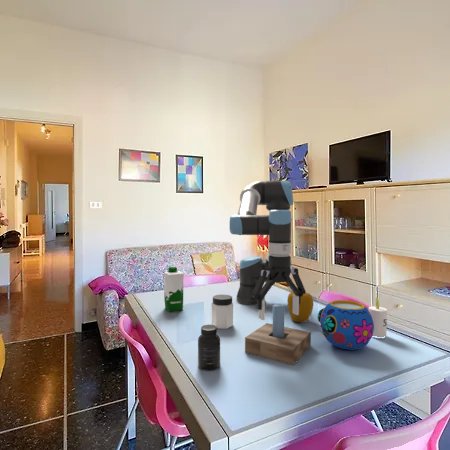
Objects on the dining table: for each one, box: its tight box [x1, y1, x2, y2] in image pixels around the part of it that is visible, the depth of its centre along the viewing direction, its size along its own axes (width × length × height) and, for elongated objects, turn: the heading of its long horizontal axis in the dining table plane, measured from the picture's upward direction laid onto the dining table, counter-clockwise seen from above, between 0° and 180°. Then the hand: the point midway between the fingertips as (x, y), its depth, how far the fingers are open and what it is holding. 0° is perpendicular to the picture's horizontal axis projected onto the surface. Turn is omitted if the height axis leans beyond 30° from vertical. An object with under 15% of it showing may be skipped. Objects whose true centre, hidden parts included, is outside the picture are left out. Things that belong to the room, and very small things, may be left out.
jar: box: [211, 294, 234, 330], centre depth 133 cm, size 9×8×12 cm
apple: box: [287, 291, 314, 323], centre depth 140 cm, size 11×11×13 cm
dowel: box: [272, 303, 285, 339], centre depth 110 cm, size 4×4×15 cm
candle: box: [368, 296, 388, 337], centre depth 122 cm, size 6×6×15 cm
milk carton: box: [163, 266, 184, 313], centre depth 155 cm, size 9×9×20 cm
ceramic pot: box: [317, 299, 374, 351], centre depth 112 cm, size 18×18×15 cm
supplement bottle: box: [197, 324, 221, 371], centre depth 97 cm, size 7×7×12 cm
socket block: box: [244, 322, 312, 366], centre depth 110 cm, size 17×17×5 cm
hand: (278, 316), depth 110 cm, fingers open, 13 cm apart
